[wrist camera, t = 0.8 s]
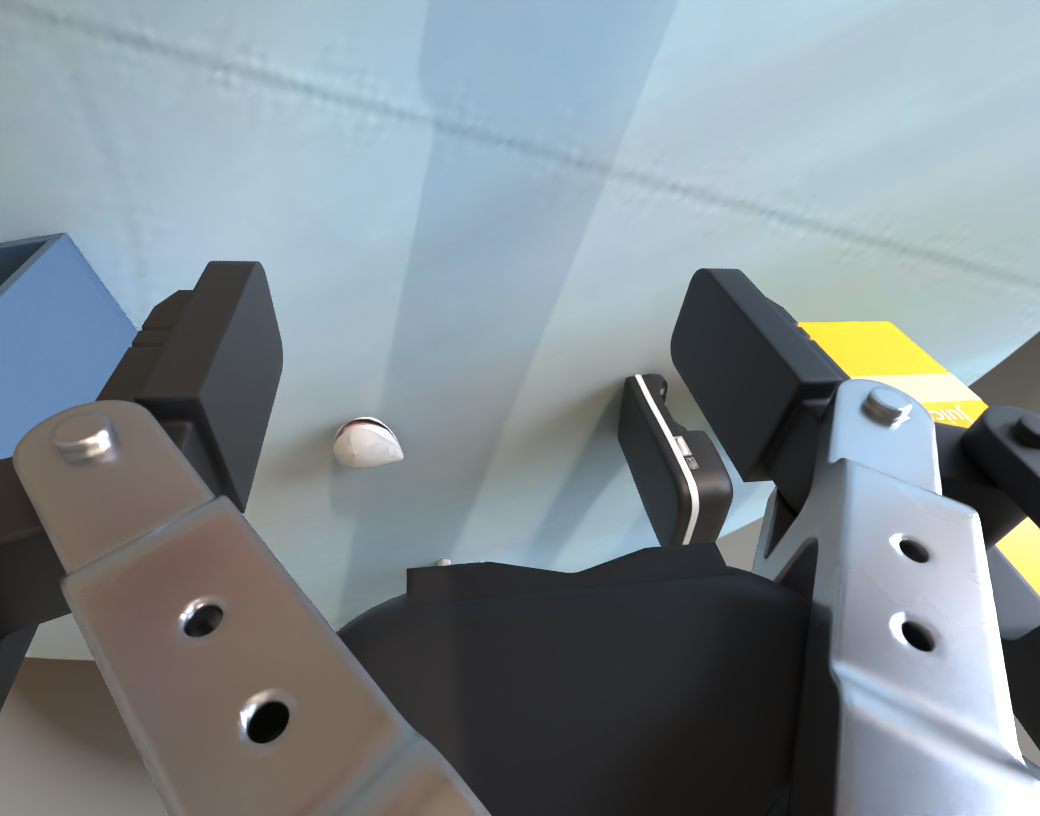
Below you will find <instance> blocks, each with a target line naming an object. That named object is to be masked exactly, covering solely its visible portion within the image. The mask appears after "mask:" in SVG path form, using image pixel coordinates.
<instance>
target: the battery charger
mask: <svg viewBox="0 0 1040 816" xmlns="http://www.w3.org/2000/svg"><path fill="white" fill-rule="evenodd" d="M666 393H667V382H666V380H665V379H664V378H663V377H662V376H660V375H651V374H648V375H640V374H639V375H634V376H632V377H628V378H627V379H626V380H625V386H624V392H623V399H622V406H621V414H620V422H619V430H618V441H619V443H620V446H621V448H622V451H623V453H624V456H625V458H626V460H627V463H628V465H629V468H630V471H631V473H632V476H633V479H634V481H635V484H636V487H637V489H638V492H639V495H640V497H641V500H642V502H643V505H644V507H645V510H646V512H647V515H648V517H649V520H650V522H651V525H652V527H653V530H654V532H655V534H656V537H657V539H658V541H659V543H660V545H661V547H663V546H675V545H686V544H698V543H709V542H715V541H716V540H717V538H718V536H719V533H720V531H721V529H722V526H723V524H724V522H725V519H726V516H727V514H728V511H729V508H730V505H731V503H732V499H733V487H732V483H731V479H730V477H729V474H728V472H727V470H726V468H725V466H724V464H723V462H722V460H721V458H720V456H719V454H718V452H717V450H716V448H715V446H714V445H713V443H712V442H711V440H710V439H709V437H708V435H707V434H706V433H705V432H704V431H699V430H697V431H687V429H686V428H685V427H683V426H681V425H679V424H678V423H677V422H675V421H674V420H673V418H672V416H671V415H670V413H669V411H668V409H667V408H666V406H665V404H664V403H665V398H666Z"/></svg>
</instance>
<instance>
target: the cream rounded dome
mask: <svg viewBox="0 0 1040 816" xmlns="http://www.w3.org/2000/svg"><path fill="white" fill-rule="evenodd" d="M333 452H334V455H335V458H336V459H337V460H338V461H339V462H340V463H341V464H343V465H345V466H348V467H350V468H358V469H362V468H370V467H375V466H380V465H385V464H390V463H394V462H397V461H400V460H402V459H403V453H402V450H401V447H400V445H399V443H398V441H397V439H396V437H395V436H394V434H393V433H392V431H391V430H390V429H389V428H388V427H387V426H386V425H385V424H384V423H382V422H381V421H380V420H378V419H375V418H372V417H360V418H356V419H353V420H351V421H349V422H347V423H345V424H344V425H343V426H342V427H340V428H339V429H338V431H337V433H336V435H335V440H334V447H333Z"/></svg>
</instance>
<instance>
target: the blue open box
mask: <svg viewBox="0 0 1040 816" xmlns="http://www.w3.org/2000/svg"><path fill="white" fill-rule="evenodd" d="M137 333H138V332H137V330H136V329H135V328H134V326H133V325H132V323H131V322H130V321H129V319H128V318H127V316H126V315H125V314H124V312H123V311H122V310H121V308H120V307H119V305H118V304H117V303H116V301H115V300H114V299H113V297H112V296H111V294H110V293H109V292H108V290H107V289H106V288H105V286H104V285H103V283H102V282H101V281H100V279H99V278H98V277H97V275H96V274H95V272H94V271H93V270H92V268H91V267H90V266H89V264H88V263H87V261H86V260H85V259H84V257H83V256H82V254H81V253H80V252H79V250H78V249H77V248H76V246H75V245H74V243H73V242H72V241H71V239H70V238H69V237H68V235H67V234H66V233H60V234H54V235H48V236H42V237H35V238H29V239H23V240H17V241H10V242H4V243H0V459H4V458H8V457H12V456H13V453H14V450H15V447H16V446H17V444H18V443H19V441H20V440H21V438H22V437H23V436H24V435H25V434H26V433H27V432H28V431H29V430H31V429H32V428H33V427H34V426H36V425H37V424H38V423H40V422H42V421H43V420H45V419H46V418H48V417H50V416H52V415H54V414H56V413H58V412H61V411H63V410H65V409H68V408H71V407H74V406H77V405H81V404H85V403H89V402H95V400H96V398H97V397H98V395H99V394H100V392H101V391H102V389H103V387H104V386H105V384H106V383H107V381H108V379H109V378H110V376H111V375H112V373H113V372H114V370H115V368H116V367H117V365H118V364H119V362H120V360H121V359H122V357H123V356H124V354H125V352H126V351H127V349H128V348H129V347H132V341H133V340H134V338H135V337H136V335H137Z"/></svg>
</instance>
